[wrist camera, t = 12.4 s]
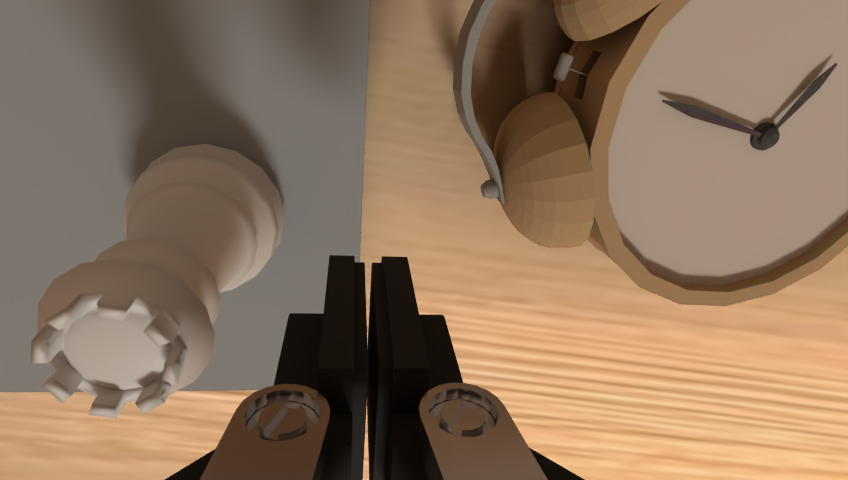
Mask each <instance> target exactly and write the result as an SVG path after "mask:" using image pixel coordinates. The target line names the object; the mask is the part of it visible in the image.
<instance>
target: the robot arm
mask: <svg viewBox="0 0 848 480" xmlns="http://www.w3.org/2000/svg"><path fill="white" fill-rule="evenodd" d="M366 403H367V415H368V449H369V480H584V479H582V478H581V477H579V476H577V475H575V474H574V473H572V472H570V471H569V470H567V469H565V468H563V467H562V466H560V465H558V464H556V463H555V462H553V461H551V460H550V459H548V458H546V457H544V456H543V455H541V454H539V453H537V452H536V451H534V450H532V449H531V448H529V447H528V445H527V444H526V442H525V440H524V439H523V437H522V435H521V433H520V432H519V430H518V428H517V427H516V425H515V423H514V421H513V420H512V418H511V416H510V415H509V413H508V411H507V410H506V408H505V406H504V405H503V404H502V402H501V401H500V400H499V399H498V398H497V397H496V396H495V395H493V394H492V393H490V392H489V391H487V390H485V389H483V388H480V387H478V386H476V385H471V384H466V383H463V381H462V377H461V374H460V370H459V367H458V363H457V360H456V356H455V353H454V349H453V346H452V342H451V339H450V335H449V331H448V328H447V324H446V321H445V318H444V316H443V315H419V312H418V308H417V303H416V298H415V293H414V288H413V283H412V278H411V273H410V269H409V264H408V259H407V257H382V261H381V263H372V272H371V292H370V312H369V332H368V351H367V322H366V293H365V264H364V263H362V262H355V256H344V255H330V256H329V265H328V275H327V284H326V294H325V303H324V313H323V314H318V313H290V314H289V317H288V321H287V325H286V330H285V335H284V339H283V344H282V349H281V353H280V358H279V362H278V367H277V372H276V376H275V381H274V386H270V387H266V388H263V389H261V390H259V391H256V392H254V393H253V394H251V395H250V396H249V397H247V398H246V399H244V400H243V401H242V403H241V404H240V405H239V407H238V408H237V409H236V411H235V413H234V415H233V417H232V419H231V421H230V423H229V424H228V426H227V428H226V430H225V432H224V434H223V436H222V438H221V440H220V442H219V444H218V446H217V447H216V449H215V450H213V451H211V452H210V453H208V454H206V455H205V456H203V457H201V458H200V459H198V460H196V461H195V462H193V463H191V464H190V465H188V466H187V467H185V468H183V469H182V470H180V471H178V472H177V473H175V474H173V475H172V476H170V477H168V478H167V479H165V480H362V479H363V460H364V441H365V422H366Z"/></svg>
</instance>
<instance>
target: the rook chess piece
mask: <svg viewBox="0 0 848 480" xmlns="http://www.w3.org/2000/svg"><path fill="white" fill-rule="evenodd" d="M284 222H285V215H284V211H283V207H282V202H281V198H280V194H279V191H278V190H277V188H276V187H275V186H274V184H273V183H272V181H271V180H270V179H269V177H268V176H267V174H266V173H265V172H264V170H263V169H262V168H261V167H259V166H258V165H256V164H255V163H253V162H252V161H250V160H249V159H247V158H246V157H244V156H243V155H241V154H240V153H238V152H237V151H234V150H230V149H225V148H221V147H217V146H213V145H209V144H200V145H192V146H184V147H177V148H174V149H172V150H171V151H169V152H167V153H166V154H164V155H162V156H161V157H159V158H157V159H156V160H154V161H152V162H151V163H150V165H149V166H148V168H147V169H146V171H144V172H142V173H141V175H140V176H139V178H138V180H137V181H136V183H135V184H134V186H133V187H132V189H131V191H130V192H129V194H128V195H127V198H126V203H125V215H124V226H123V229H124V231H125V234H126V240H125V241H120V242H118V243H117V244H115V245H113V246H112V247H110V248H108V249H107V250H105V251H103V252H101V253H100V254H99V255H98V257H97V258H96V260H95V261H94V262H87V263H81V264H79V265H78V266H76V267H74V268H72V269H71V270H69V271H67V272H66V273H64V274H62V275H61V276H59V277H57V278H55V279H54V280H53V281H52V283H51V284H50V286H49V288H48V289H47V291H46V292H45V294H44V296H43V297H42V299H41V300H40V302H39V304H38V323H37V333H38V334H37V335H36V336H35V337H34V338H33V339H32V340H31V363H49V362H50V361H51V362H52V365H53V367H54V369H55V370H54V371H53V373H52V374H51V375H50V376H49V377H48V379H47V380H46V381H45V382H44V383H43V385H42V386H43V387H44V388H46V389H47V390H48V391H49V392H50V393H51V394H52V395H54V396H55V397H56V398H57V399H58V400H59V401H60V402H61V403H63V402H64V401H65V400H66V399H68V398H69V397H70V396H71V395H72V394H73V393H74V391H75V390H76V389H79V390H82V391H84V392H86V393H88V394H91V395H93V396H95V397H97V398H96V399H95V401H94V402H93V404H92V406H91V409H90V412H89V415H94V416H102V417H109V418H117V417H118V415H119V414H120V412H121V410H122V408H123V407H124V405H125V403H126V402H131V401H136V405H137V406H138V408H139V409H140V411H141V412H142V413H143V414H145V413H146V412H148V411H150V410H152V409H154V408H156V407H157V406H159V405H161V404H163V403H165V400H166V398H167V396H168V395H171V394H173V393H174V392H176V391H178V390H180V389H182V388H184V387H185V386H187V385H189V384H191V383H193V382H195V380H196V379H197V378H198V376H199V375H200V374H201V372H202V371H203V370H204V369H205V367H206V366H207V365H208V363H209V362H210V361H211V356H212V350H213V344H214V338H215V332H214V329H213V326H212V324H213V323H214V322H215V320H216V319H217V317H218V311H219V305H220V299H221V296H220V293H222V292H223V291H228V290H232V289H234V288H236V287H238V286H240V285H241V284H243V283H245V282H247V281H249V280H250V279H252V278H254V277H255V276H257V275H258V274H259V273H260V272H261V270H262V269H263V268H264V266H265V265H266V264H267V262H268V261H269V260H270V258H271V257H272V256H273V254H274V252H275V249H276V248H277V246H278V245H279V244H280V241H281V236H282V231H283V226H284Z"/></svg>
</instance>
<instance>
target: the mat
mask: <svg viewBox="0 0 848 480" xmlns="http://www.w3.org/2000/svg"><path fill="white" fill-rule="evenodd" d="M369 15H370V0H0V392H49V391H48V390H47V389H46V388H44V387H43V386H42V385H43V383H44V382H45V381H46V380H47V379H48V377H49V376H50V375H51V374H52V373H53V371H54V370H55V369H54V367H53V365H52V362H51V361H50V362H49V363H31V340H32V339H33V338H34V337H35V336H36V335H37V334H38V333H37V323H38V304H39V302H40V300H41V299H42V297H43V296H44V294H45V292H46V291H47V289H48V288H49V286H50V284H51V283H52V281H53V280H54V279H55V278H57V277H59V276H61V275H62V274H64V273H66V272H67V271H69V270H71V269H72V268H74V267H76V266H78V265H79V264H81V263H87V262H94V261H95V260H96V258H97V257H98V255H99V254H100V253H101V252H103V251H105V250H107V249H108V248H110V247H112V246H113V245H115V244H117V243H118V242H120V241H125V240H126V234H125V231H124V229H123V226H124V215H125V203H126V198H127V195H128V194H129V192H130V191H131V189H132V187H133V186H134V184H135V183H136V181H137V180H138V178H139V176H140V175H141V173H142V172H144V171H146V169H147V168H148V166H149V165H150V163H151V162H152V161H154V160H156V159H157V158H159V157H161V156H162V155H164V154H166V153H167V152H169V151H171V150H172V149H174V148H177V147H184V146H192V145H200V144H209V145H213V146H217V147H221V148H225V149H230V150H234V151H237V152H238V153H240V154H241V155H243V156H244V157H246V158H247V159H249V160H250V161H252V162H253V163H255V164H256V165H258V166H259V167H261V168H262V169H263V170H264V172H265V173H266V174H267V176H268V177H269V179H270V180H271V181H272V183H273V184H274V186H275V187H276V188H277V190H278V191H279V194H280V198H281V202H282V207H283V211H284V215H285V222H284V226H283V231H282V236H281V241H280V244H279V245H278V246H277V248H276V249H275V252H274V254H273V256H272V257H271V258H270V260H269V261H268V262H267V264H266V265H265V266H264V268H263V269H262V270H261V272H260V273H259V274H258V275H257V276H255V277H254V278H252V279H250V280H249V281H247V282H245V283H243V284H241V285H240V286H238V287H236V288H234V289H232V290H228V291H223V292H222V293H220V296H221V299H220V305H219V311H218V317H217V319H216V320H215V322H214V323H213V324H212V326H213V329H214V332H215V338H214V344H213V350H212V356H211V361H210V362H209V363H208V365H207V366H206V367H205V369H204V370H203V371H202V372H201V374H200V375H199V376H198V378H197V379H196V380H195V382H193V383H191V384H189V385H187V386H185V387H184V388H182V389H180V390H178V391H225V390H261V389H263V388H266V387H270V386H274V381H275V376H276V372H277V367H278V362H279V358H280V353H281V349H282V344H283V339H284V335H285V330H286V325H287V321H288V317H289V314H290V313H318V314H323V313H324V303H325V294H326V284H327V275H328V265H329V256H330V255H344V256H355V262H360V244H361V219H362V193H363V168H364V142H365V117H366V91H367V66H368V40H369ZM74 392H84V391H82V390H79V389H76V390H75V391H74Z"/></svg>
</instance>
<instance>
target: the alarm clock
mask: <svg viewBox="0 0 848 480" xmlns="http://www.w3.org/2000/svg"><path fill="white" fill-rule="evenodd" d="M496 1H497V0H474V2H473V3H472V5H471V8H470V10H469V12H468V15H467V17H466V19H465V21H464V24H463V26H462V28H461V30H460V35H459V40H458V44H457V49H456V54H455V59H454V78H453V91H454V96H455V101H456V106H457V111H458V114H459V116H460V118H461V121H462V123H463V125H464V128H465V130H466V132H467V133H468V135H469V136H470V137H471V139H472V140H473V142H474V143H475V145H476V147H477V149H478V151H479V153H480V155H481V157H482V159H483V162H484V164H485V166H486V169H487V171H488V173H489V176H490V180H487V181H486V182H485V183H483V184H482V185H481V192H482V195H483V196H484V197H486V198H490V199H492V198H497V199H498V200H499V201H500V203H501V205H502V207H503V209H504V211H505V213H506V215H507V217H508V218H509V220H510V221H511V223H512V224H513V225H514V227H515V228H516V229H517V231H519V232H520V233H521V234H523V235H524V236H525V237H527V238H528V239H529V240H530V241H532V242H534V243H536V244H538V245H540V246H544V247H548V248H569V247H576V246H581V245H582V244H583V243H584V242H585V241H586V239H588V240H589V241H590V242H591V243H592V244H593V245H594V246H595V247H596V248H597V249H598V250H600V251H602V252H604V253H605V254H606V255H607V256H608V257H609V258H611V259H612V260H613V261H614V262H615V263H616V264H617V265H618V266H619V267H620V268H621V269H622V270H623V271H624V272H625V273H626V274H627V275H628V276H629V277H630V278H631V279H632V280H633V281H634V282H635V283H636V284H637V285H638V286H639V287H640V288H643V289H645V290H648V291H650V292H652V293H655V294H657V295H659V296H662V297H664V298H666V299H669V300H671V301H674V302H676V303H678V304H687V305H711V306H728V305H732V304H735V303H739V302H743V301H747V300H751V299H755V298H759V297H763V296H767V295H771V294H774V293H776V292H778V291H780V290H781V289H783V288H785V287H787V286H789V285H791V284H793V283H795V282H797V281H798V280H800V279H802V278H804V277H806V276H808V275H810V274H812V273H813V272H815V271H817V270H819V269H821V268H822V267H823V266H824V265H826V264H827V263H828V262H829V261H831V260H832V259H833V258H834V257H835V256H837V255H838V254H839V253H840V252H841V251H843V250H844V249H845V248H846V247H847V246H848V0H554V7H555V13H556V17H557V19H558V22H559V24H560V26H561V28H562V30H563V31H564V33H565V34H566V36H567V37H569V38H570V39H572V40H574V41H575V42H574V43H573V45H572V47H571V49H570V50H569V52H568V53H562V54H561V56H560V59H559V61H558V64H557V66H556V69H555V72H554V74H553V77H554V78H555V79H557V83H556V87H555V91H554V92H544V93H540V94H537V95H534V96H532V97H530V98H528V99H526V100H524V101H522V102H521V103H520V104H518V105H517V106H516V107H515V108H514V109H513V110H512V111H511V112H510V113H509V114H508V115H507V117H506V118H505V119H504V120H503V122H502V124H501V126H500V128H499V130H498V133H497V137H496V140H495V144H494V153H492V151H491V149H490V148H489V146H488V145H487V143H486V142H485V140H484V139H483V137H482V134H481V132H480V130H479V127H478V125H477V122H476V120H475V116H474V111H473V105H472V100H471V82H472V65H473V61H474V56H475V52H476V48H477V43H478V39H479V35H480V33H481V31H482V29H483V27H484V24H485V22H486V20H487V18H488V15H489V13H490V11H491V9H492V7H493V6H494V4H495V3H496Z"/></svg>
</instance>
